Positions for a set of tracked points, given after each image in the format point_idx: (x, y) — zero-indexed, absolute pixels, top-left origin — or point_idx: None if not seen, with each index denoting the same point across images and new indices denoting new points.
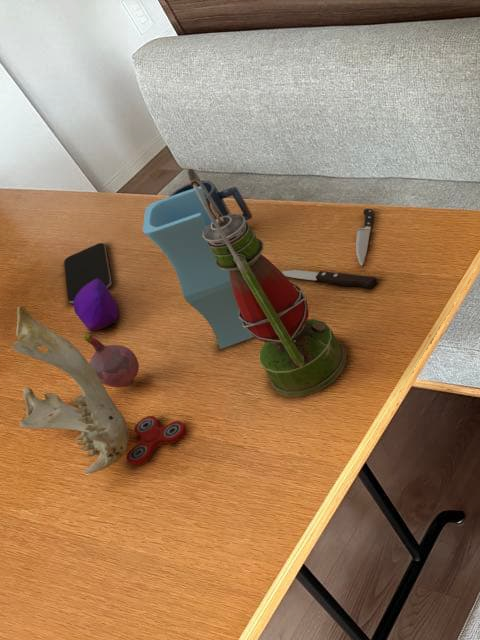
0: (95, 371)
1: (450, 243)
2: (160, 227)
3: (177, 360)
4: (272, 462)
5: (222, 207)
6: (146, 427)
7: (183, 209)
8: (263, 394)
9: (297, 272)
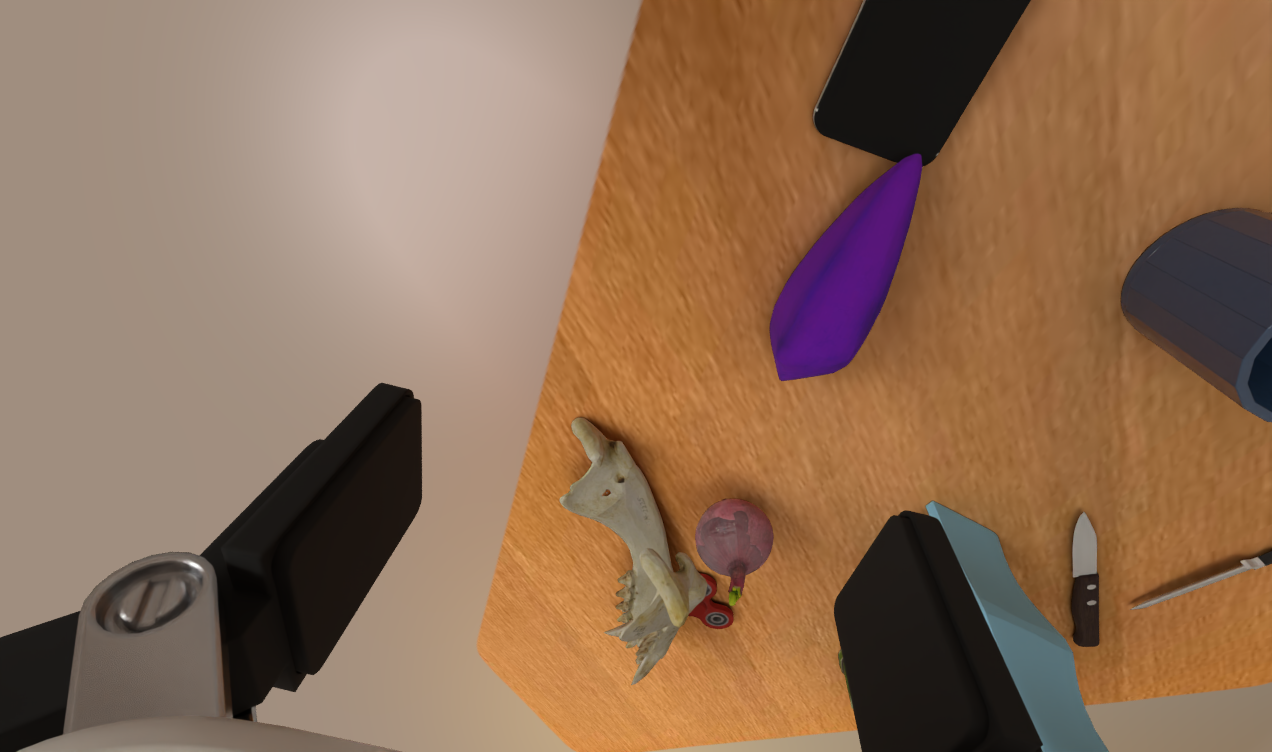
0: (703, 561)
1: (1215, 665)
2: None
3: (812, 516)
4: (759, 696)
5: None
6: None
7: None
8: (826, 643)
9: (1089, 542)
